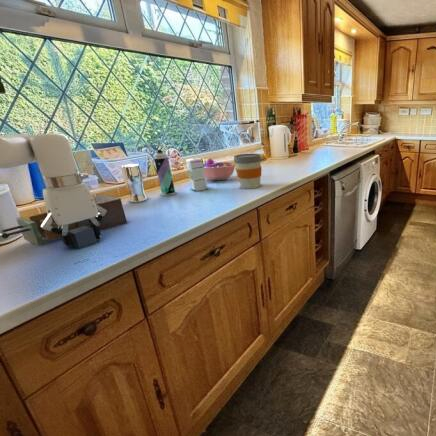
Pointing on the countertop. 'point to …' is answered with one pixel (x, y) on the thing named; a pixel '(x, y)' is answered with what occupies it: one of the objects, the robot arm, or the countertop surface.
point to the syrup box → (196, 174)
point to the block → (82, 236)
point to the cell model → (218, 170)
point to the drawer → (35, 229)
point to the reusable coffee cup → (248, 170)
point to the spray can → (164, 173)
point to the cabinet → (108, 212)
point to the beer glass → (134, 182)
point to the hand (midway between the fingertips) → (84, 242)
